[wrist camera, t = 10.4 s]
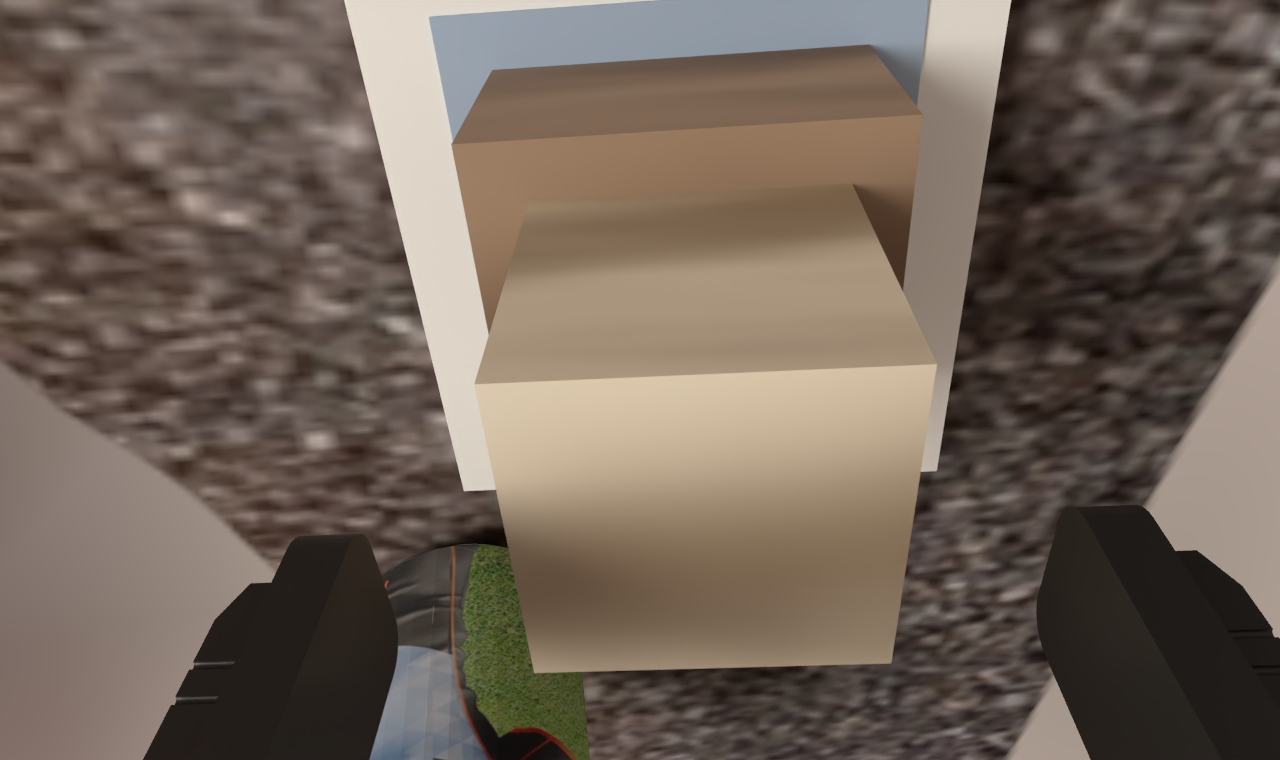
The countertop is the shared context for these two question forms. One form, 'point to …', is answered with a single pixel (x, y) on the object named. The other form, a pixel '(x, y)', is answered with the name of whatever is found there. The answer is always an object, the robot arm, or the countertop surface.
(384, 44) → the board
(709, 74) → the walnut block
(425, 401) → the countertop surface
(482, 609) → the beverage can
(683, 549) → the maple cube
